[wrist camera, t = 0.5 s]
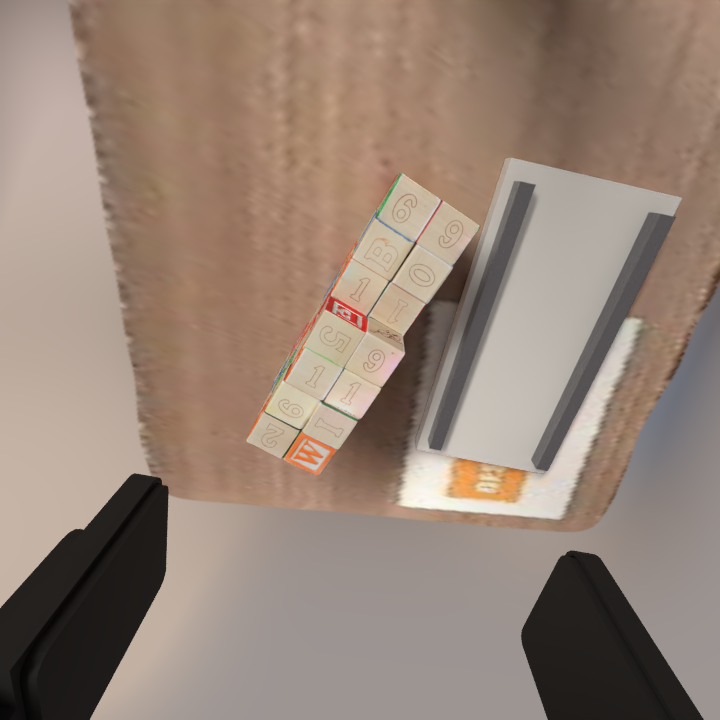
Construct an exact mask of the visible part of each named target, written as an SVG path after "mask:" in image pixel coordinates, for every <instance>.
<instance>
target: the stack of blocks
mask: <svg viewBox="0 0 720 720" xmlns="http://www.w3.org/2000/svg"><path fill="white" fill-rule="evenodd" d="M479 228H480V226H479V225H478V224H477V223H475V222H474V221H472V220H471V219H469V218H468V217H466V216H465V215H463V214H462V213H460V212H459V211H458V210H456V209H455V208H453V207H452V206H450V205H449V204H447V203H446V202H444V201H442V200H441V199H439V198H437V197H436V196H435V195H433V194H432V193H430V192H429V191H427V190H426V189H424V188H423V187H421V186H420V185H419V184H417V183H416V182H414V181H413V180H411V179H410V178H408V177H407V176H405V175H404V174H399V175H397V176H396V178H395V180H394V181H393V183H392V185H391V187H390V188H389V190H388V192H387V193H386V195H385V197H384V199H383V200H382V202H381V204H380V205H379V207H378V209H376V210H375V212H374V213H373V215H372V217H371V218H370V220H369V222H368V223H367V225H366V227H365V228H364V230H363V232H362V234H361V235H360V237H359V239H358V240H357V242H356V243H355V245H354V247H353V248H352V250H351V252H350V253H349V255H348V257H347V258H346V260H345V262H344V264H343V265H342V267H341V269H340V272H339V273H338V275H337V277H336V278H335V280H334V282H333V284H332V285H331V287H330V288H329V290H328V292H327V293H326V295H325V297H324V299H323V300H322V302H321V304H320V305H319V307H318V309H317V310H316V312H315V314H314V315H313V317H312V319H311V320H310V322H309V323H308V324H307V326H306V327H305V329H304V331H303V332H302V334H301V336H300V337H299V339H298V341H297V342H296V344H295V346H294V347H293V348H292V350H291V351H290V353H289V355H288V356H287V358H286V360H285V361H284V363H283V365H282V366H281V368H280V370H279V372H278V374H277V376H276V378H275V380H274V384H273V386H272V388H271V391H270V393H269V395H268V397H267V398H266V400H265V402H264V404H263V406H262V408H261V410H260V412H259V414H258V416H257V419H256V421H255V423H254V425H253V427H252V429H251V431H250V433H249V435H248V437H247V440H246V441H247V442H248V443H250V444H253V445H255V446H257V447H259V448H261V449H263V450H265V451H267V452H269V453H270V454H272V455H274V456H276V457H278V458H284V460H286V461H287V462H289V463H291V464H293V465H295V466H297V467H299V468H301V469H303V470H305V471H308V472H310V473H312V474H314V475H316V476H319V475H320V473H321V472H322V471H323V469H324V468H325V466H326V465H327V464H328V462H329V461H330V460H331V458H332V457H333V455H334V454H335V453H336V451H337V449H339V448H340V447H341V446H342V444H343V443H344V442H345V440H346V439H347V437H348V436H349V434H350V433H351V431H352V430H353V428H354V427H355V425H356V424H357V422H358V419H361V418H362V417H363V415H364V414H365V413H366V411H367V410H368V408H369V407H370V405H371V404H372V402H373V401H374V400H375V398H376V397H377V395H378V394H379V392H380V390H381V388H382V386H383V385H384V384H385V383H386V381H387V380H388V378H389V377H390V375H391V374H392V373H393V371H394V370H395V368H396V367H397V365H398V364H399V362H400V361H401V359H402V358H403V357H404V355H405V349H404V341H403V336H404V335H405V334H406V332H407V331H408V329H409V328H410V326H411V325H412V324H413V322H414V321H415V319H416V318H417V316H418V315H419V314H420V312H421V311H422V310H423V308H424V307H425V305H426V304H428V303H429V302H430V300H431V299H432V297H433V296H434V295H435V293H436V292H437V291H438V289H439V288H440V286H441V285H442V284H443V282H444V281H445V279H446V278H447V276H448V275H449V274H450V272H451V271H452V269H453V265H454V263H455V262H456V261H457V259H458V258H459V257H460V255H461V254H462V252H463V251H464V250H465V248H466V247H467V245H468V244H469V243H470V241H471V240H472V238H473V237H474V236H475V234H476V233H477V231H478V230H479Z"/></svg>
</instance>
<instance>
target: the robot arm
mask: <svg viewBox="0 0 720 720" xmlns="http://www.w3.org/2000/svg"><path fill="white" fill-rule="evenodd" d="M167 518H168V486H164V485H162V480H161V478H158V477H152V476H147V475H141V474H132V475H131V476H130V477H129V478H128V479H127V480H126V481H125V482H124V484H123V485H122V486H121V487H120V488H119V490H118V491H117V492H116V493H115V494H114V495H113V496H112V498H111V499H110V500H109V501H108V503H106V505H105V506H104V507H103V508H102V509H101V510H100V512H99V513H98V514H97V515H96V516H95V517H94V519H93V520H92V521H91V522H90V523H89V524H88V526H87V527H86V528H85V529H84V530H82V529H75V530H73V531H71V532H70V533H68V534H67V535H66V536H65V537H64V538H63V539H62V540H61V541H60V542H59V543H58V545H57V546H56V547H55V548H54V549H53V550H52V551H51V552H50V553H49V555H48V556H47V557H46V558H45V559H44V560H43V561H42V562H41V563H40V565H39V566H38V567H37V568H36V569H35V570H34V571H33V573H32V574H31V575H30V576H29V577H28V578H27V579H26V580H25V581H24V582H23V583H22V585H21V586H20V587H19V588H18V589H17V590H16V591H15V592H14V594H13V595H12V596H11V597H10V598H9V599H8V600H7V601H6V602H5V604H4V605H3V606H2V607H1V608H0V720H90V718H91V716H92V714H93V712H94V710H95V708H96V706H97V705H98V703H99V701H100V699H101V697H102V695H103V694H104V692H105V690H106V688H107V686H108V684H109V682H110V680H111V679H112V677H113V675H114V673H115V671H116V669H117V667H118V666H119V664H120V661H121V660H122V658H123V656H124V654H125V652H126V651H127V649H128V647H129V645H130V643H131V641H132V639H133V637H134V636H135V634H136V632H137V630H138V628H139V626H140V624H141V623H142V621H143V619H144V617H145V615H146V613H147V611H148V609H149V608H150V606H151V604H152V602H153V600H154V598H155V596H156V595H157V593H158V591H159V589H160V587H161V585H162V582H163V580H164V576H165V572H166V551H167V520H168V519H167ZM521 638H522V645H523V648H524V651H525V654H526V657H527V660H528V663H529V666H530V669H531V671H532V675H533V677H534V681H535V683H536V686H537V689H538V692H539V695H540V698H541V701H542V704H543V707H544V710H545V713H546V716H547V718H548V720H703V718H702V716H701V715H700V713H699V712H698V710H697V708H696V707H695V705H694V704H693V702H692V701H691V699H690V697H689V696H688V694H687V693H686V691H685V690H684V688H683V687H682V685H681V684H680V682H679V680H678V679H677V677H676V676H675V674H674V672H673V671H672V670H671V668H670V666H669V665H668V663H667V662H666V660H665V659H664V657H663V655H662V654H661V652H660V651H659V649H658V647H657V646H656V644H655V643H654V642H653V640H652V638H651V637H650V635H649V633H648V632H647V630H646V629H645V627H644V626H643V624H642V623H641V621H640V619H639V618H638V616H637V615H636V613H635V612H634V610H633V609H632V607H631V605H630V604H629V602H628V601H627V599H626V597H625V596H624V594H623V593H622V591H621V590H620V588H619V587H618V585H617V583H616V582H615V580H614V579H613V577H612V576H611V574H610V573H609V571H608V569H607V568H606V566H605V565H604V563H603V562H602V560H601V559H600V558H599V557H598V556H597V555H595V554H589V553H583V552H578V551H569V552H567V553H566V555H565V556H561V557H560V559H559V560H558V562H557V564H556V566H555V568H554V570H553V571H552V573H551V575H550V577H549V579H548V581H547V583H546V585H545V586H544V588H543V590H542V592H541V594H540V596H539V598H538V600H537V602H536V604H535V605H534V608H533V609H532V611H531V613H530V615H529V617H528V619H527V621H526V623H525V625H524V627H523V629H522V634H521Z"/></svg>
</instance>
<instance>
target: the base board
mask: <svg viewBox="0 0 720 720" xmlns="http://www.w3.org/2000/svg"><path fill="white" fill-rule="evenodd" d="M681 199H682V198H681V197H677V196H673V195H668V194H664V193H660V192H656V191H651V190H647V189H643V188H639V187H634V186H630V185H626V184H622V183H617V182H613V181H609V180H604V179H600V178H596V177H592V176H587V175H583V174H579V173H575V172H570V171H566V170H562V169H558V168H553V167H549V166H545V165H540V164H536V163H532V162H528V161H523V160H519V159H515V158H505V161H504V164H503V168H502V171H501V174H500V177H499V180H498V183H497V186H496V189H495V193H494V196H493V199H492V202H491V205H490V208H489V211H488V214H487V218H486V221H485V224H484V227H483V230H482V233H481V236H480V239H479V243H478V246H477V249H476V252H475V255H474V258H473V261H472V264H471V268H470V271H469V274H468V277H467V280H466V283H465V286H464V290H463V293H462V296H461V299H460V302H459V305H458V308H457V311H456V315H455V318H454V321H453V324H452V327H451V330H450V333H449V336H448V340H447V343H446V346H445V349H444V352H443V355H442V358H441V361H440V365H439V368H438V371H437V374H436V377H435V380H434V383H433V386H432V390H431V393H430V396H429V399H428V402H427V405H426V408H425V411H424V415H423V418H422V421H421V424H420V427H419V430H418V433H417V436H416V440H415V445H416V450H420V451H425V452H430V453H436V454H441V455H446V456H452V457H457V458H462V459H467V460H473V461H478V462H483V463H488V464H494V465H499V466H504V467H509V468H515V469H520V470H525V471H530V472H536V473H541V474H544V472H545V471H548V469H549V467H550V465H551V463H552V461H553V459H554V457H555V455H556V453H557V451H558V449H559V447H560V445H561V443H562V441H563V439H564V437H565V435H566V433H567V431H568V429H569V427H570V425H571V423H572V421H573V419H574V418H575V416H576V414H577V412H578V410H579V408H580V406H581V404H582V402H583V400H584V398H585V396H586V394H587V392H588V390H589V388H590V386H591V384H592V382H593V380H594V378H595V376H596V374H597V372H598V370H599V368H600V366H601V364H602V362H603V360H604V358H605V356H606V354H607V352H608V350H609V348H610V346H611V344H612V342H613V340H614V338H615V336H616V334H617V332H618V330H619V328H620V326H621V325H622V323H623V321H624V319H625V317H626V315H627V313H628V311H629V309H630V307H631V305H632V303H633V301H634V299H635V297H636V295H637V293H638V291H639V289H640V287H641V285H642V283H643V281H644V279H645V277H646V275H647V273H648V271H649V269H650V267H651V265H652V263H653V261H654V259H655V257H656V255H657V253H658V251H659V249H660V247H661V245H662V243H663V241H664V239H665V237H666V235H667V233H668V232H669V230H670V228H671V226H672V224H673V222H674V220H675V218H676V217H673V215H674V213H675V211H676V209H677V207H678V205H679V203H680V201H681Z"/></svg>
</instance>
